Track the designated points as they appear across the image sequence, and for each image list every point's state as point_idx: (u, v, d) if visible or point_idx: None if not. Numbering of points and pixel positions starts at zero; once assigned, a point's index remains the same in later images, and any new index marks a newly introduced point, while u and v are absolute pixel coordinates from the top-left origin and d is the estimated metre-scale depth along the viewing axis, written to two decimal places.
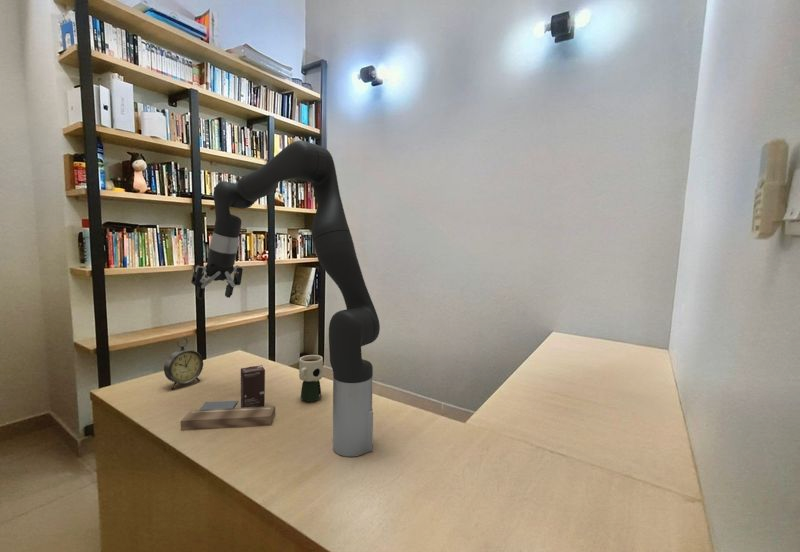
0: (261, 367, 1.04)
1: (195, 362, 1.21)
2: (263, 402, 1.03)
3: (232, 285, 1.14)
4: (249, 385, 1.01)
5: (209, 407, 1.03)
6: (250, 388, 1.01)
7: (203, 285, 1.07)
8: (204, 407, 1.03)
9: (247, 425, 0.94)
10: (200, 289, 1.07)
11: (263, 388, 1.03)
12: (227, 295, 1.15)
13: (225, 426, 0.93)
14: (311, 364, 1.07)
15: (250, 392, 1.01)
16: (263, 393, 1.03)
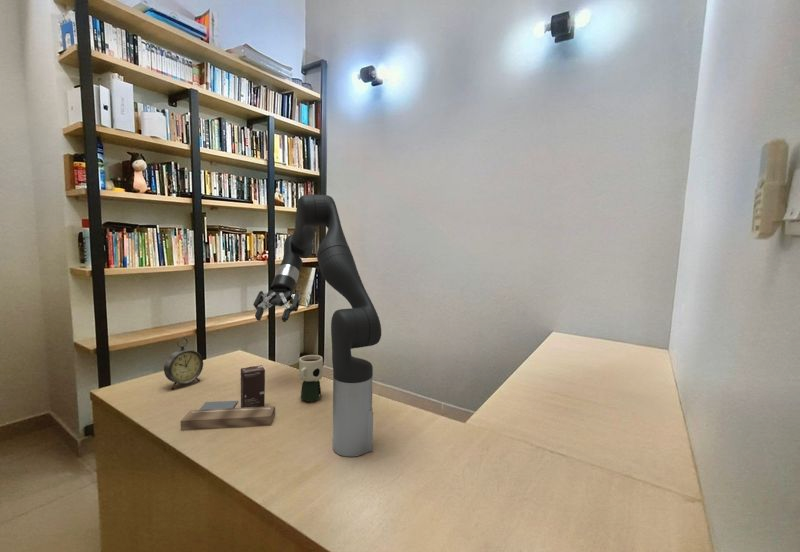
0: (261, 367, 1.04)
1: (195, 362, 1.21)
2: (263, 402, 1.03)
3: (287, 307, 1.15)
4: (249, 385, 1.01)
5: (209, 407, 1.03)
6: (250, 388, 1.01)
7: (260, 304, 1.16)
8: (204, 407, 1.03)
9: (247, 425, 0.94)
10: (258, 309, 1.15)
11: (263, 388, 1.03)
12: None
13: (225, 426, 0.93)
14: (311, 364, 1.07)
15: (250, 392, 1.01)
16: (263, 393, 1.03)
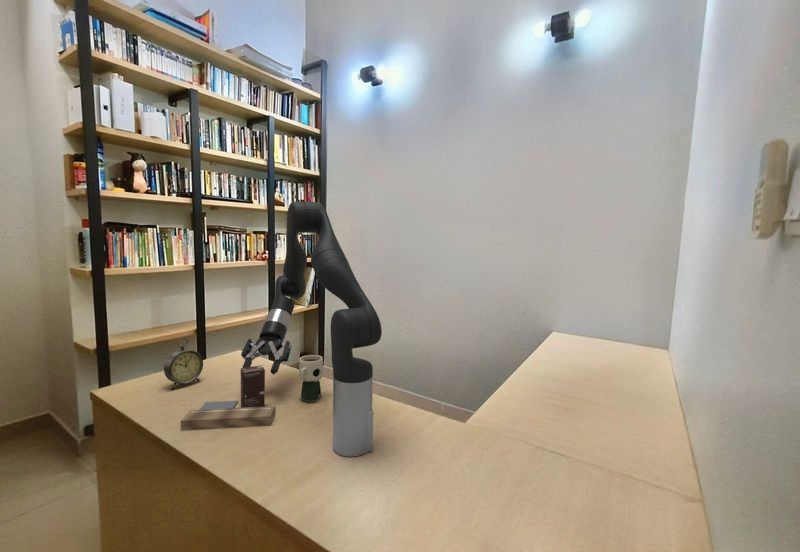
0: (261, 367, 1.04)
1: (195, 362, 1.21)
2: (263, 402, 1.03)
3: (276, 357, 1.08)
4: (249, 385, 1.01)
5: (209, 407, 1.03)
6: (250, 388, 1.01)
7: (248, 355, 1.09)
8: (204, 407, 1.03)
9: (247, 425, 0.94)
10: (246, 360, 1.09)
11: (263, 388, 1.03)
12: None
13: (225, 426, 0.93)
14: (311, 364, 1.07)
15: (250, 392, 1.01)
16: (263, 393, 1.03)
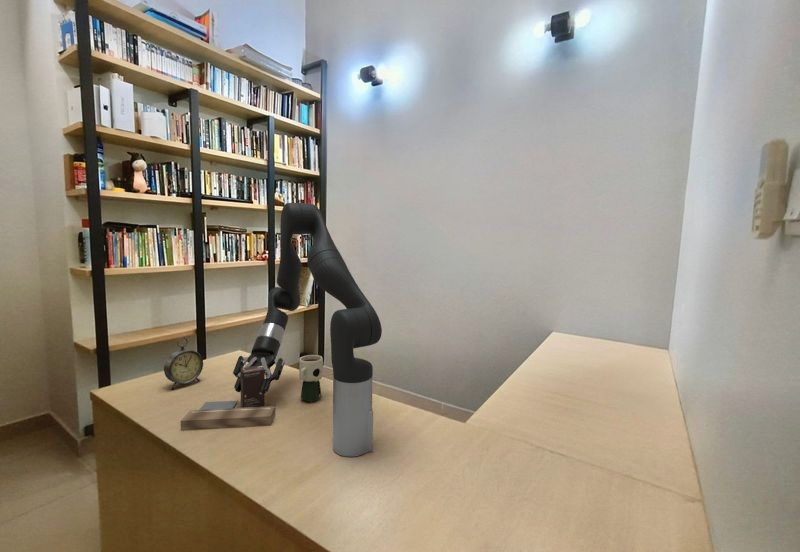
0: (261, 367, 1.04)
1: (195, 362, 1.21)
2: (263, 401, 1.03)
3: (267, 376, 1.03)
4: (249, 385, 1.01)
5: (209, 407, 1.03)
6: (250, 388, 1.01)
7: (240, 373, 1.04)
8: (204, 407, 1.03)
9: (247, 425, 0.94)
10: (238, 379, 1.04)
11: None
12: None
13: (225, 426, 0.93)
14: (311, 364, 1.07)
15: (250, 392, 1.01)
16: None
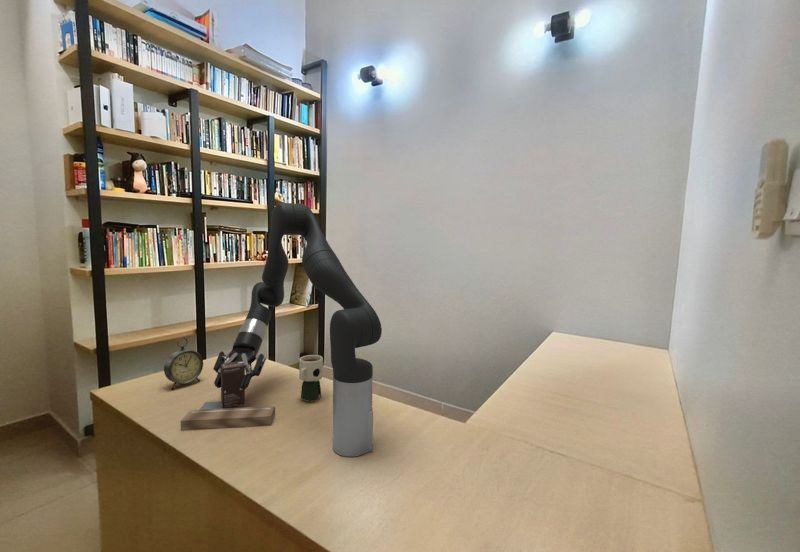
0: (241, 363, 1.03)
1: (195, 362, 1.21)
2: (243, 397, 1.03)
3: (247, 372, 1.03)
4: (228, 381, 1.00)
5: (209, 407, 1.03)
6: (229, 384, 1.00)
7: (220, 369, 1.04)
8: (204, 407, 1.03)
9: (247, 425, 0.94)
10: (218, 374, 1.03)
11: None
12: None
13: (225, 426, 0.93)
14: (311, 364, 1.07)
15: (229, 388, 1.00)
16: None
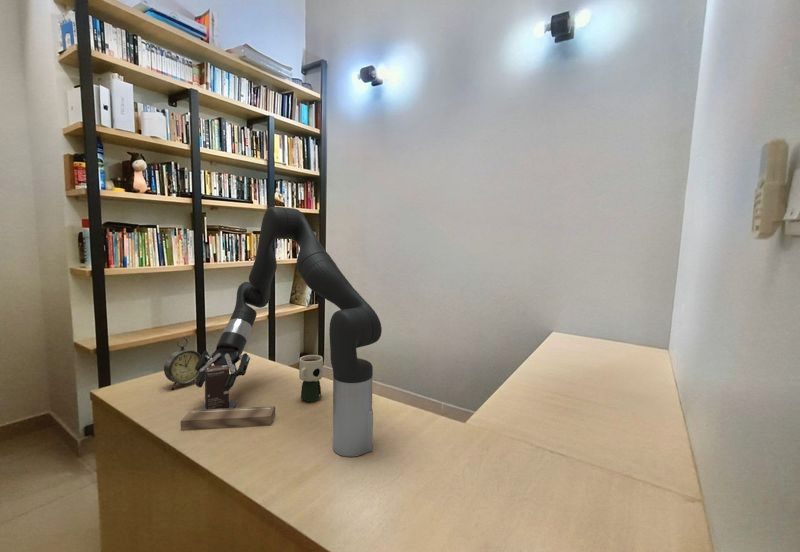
0: (226, 366, 1.03)
1: (195, 362, 1.21)
2: (227, 401, 1.02)
3: (232, 371, 1.02)
4: (212, 384, 0.99)
5: None
6: (213, 388, 0.99)
7: (202, 368, 1.03)
8: (204, 407, 1.03)
9: (247, 425, 0.94)
10: (199, 374, 1.02)
11: None
12: None
13: (225, 426, 0.93)
14: (311, 364, 1.07)
15: (213, 392, 0.99)
16: (227, 393, 1.02)
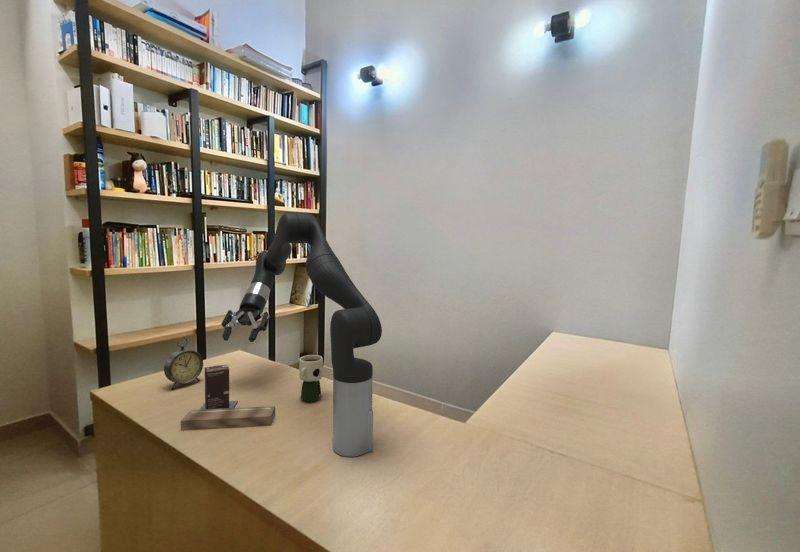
0: (226, 366, 1.03)
1: (195, 362, 1.21)
2: (227, 401, 1.02)
3: (254, 326, 1.14)
4: (212, 384, 0.99)
5: None
6: (213, 388, 0.99)
7: (228, 324, 1.15)
8: (204, 407, 1.03)
9: (247, 425, 0.94)
10: (225, 329, 1.14)
11: (227, 387, 1.01)
12: None
13: (225, 426, 0.93)
14: (311, 364, 1.07)
15: (213, 392, 0.99)
16: (227, 393, 1.02)
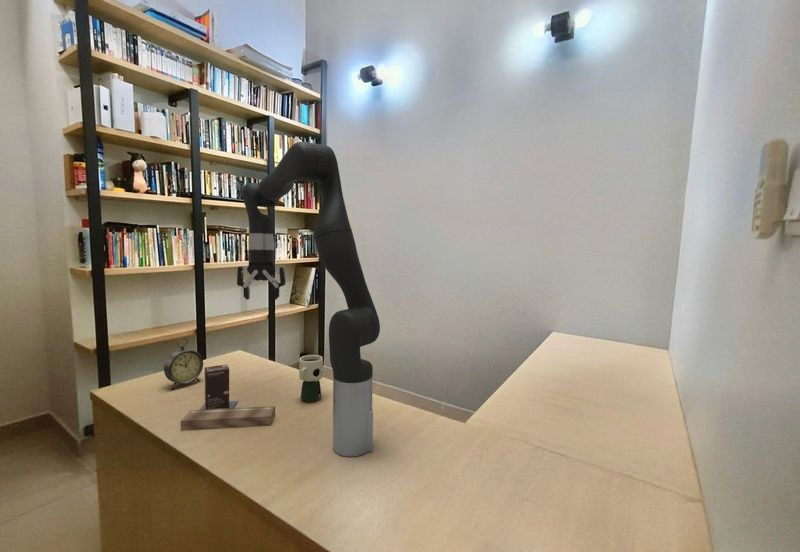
0: (226, 366, 1.03)
1: (195, 362, 1.21)
2: (227, 401, 1.02)
3: (275, 286, 1.13)
4: (212, 384, 0.99)
5: None
6: (213, 388, 0.99)
7: (245, 284, 1.12)
8: (204, 407, 1.03)
9: (247, 425, 0.94)
10: (244, 289, 1.12)
11: (227, 387, 1.01)
12: (274, 297, 1.14)
13: (225, 426, 0.93)
14: (311, 364, 1.07)
15: (213, 392, 0.99)
16: (227, 393, 1.02)
